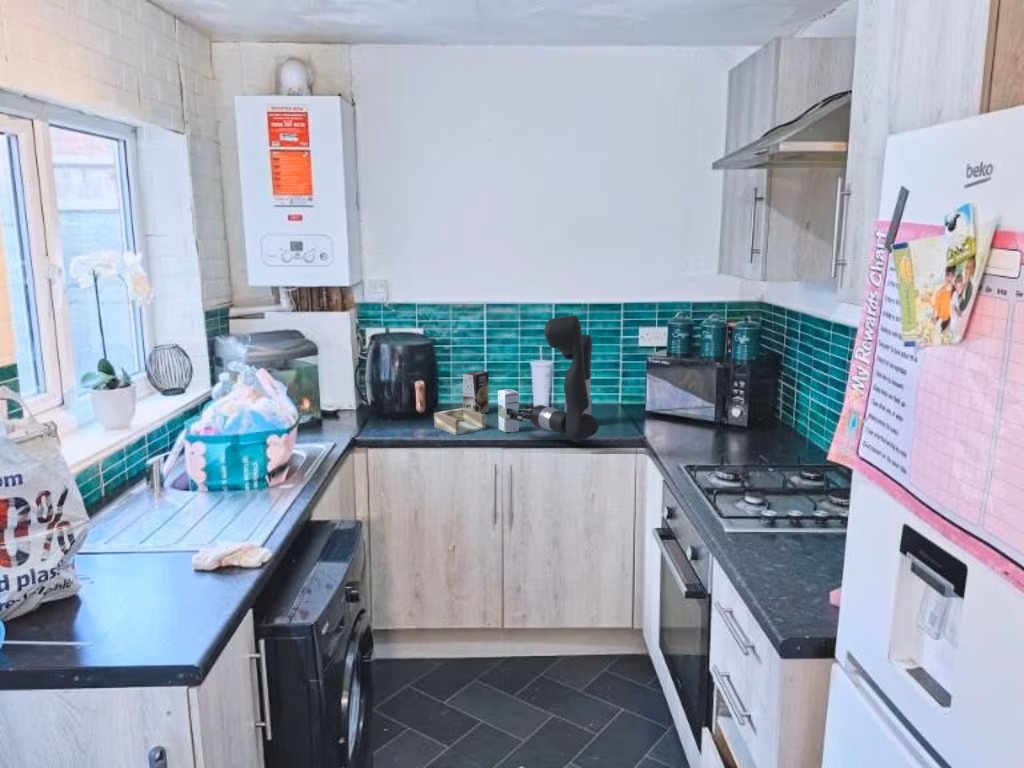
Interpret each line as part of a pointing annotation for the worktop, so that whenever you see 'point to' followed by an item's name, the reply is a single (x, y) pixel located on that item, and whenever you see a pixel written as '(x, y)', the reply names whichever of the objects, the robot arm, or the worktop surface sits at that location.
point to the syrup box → (505, 401)
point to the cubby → (459, 421)
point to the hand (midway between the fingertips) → (516, 409)
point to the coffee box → (476, 391)
